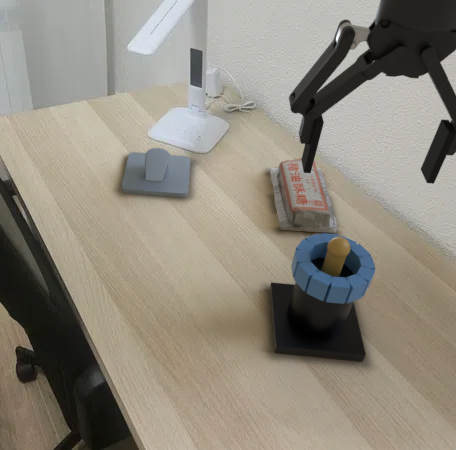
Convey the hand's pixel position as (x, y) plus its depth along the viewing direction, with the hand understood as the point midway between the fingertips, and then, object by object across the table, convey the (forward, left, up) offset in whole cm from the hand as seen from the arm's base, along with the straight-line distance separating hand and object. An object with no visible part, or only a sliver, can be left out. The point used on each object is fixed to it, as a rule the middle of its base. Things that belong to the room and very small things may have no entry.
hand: (366, 171), depth 63 cm
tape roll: (0, 0, -17) cm, 17 cm away
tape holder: (0, 0, -27) cm, 27 cm away
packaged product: (-1, -29, -27) cm, 39 cm away
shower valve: (+26, -32, -27) cm, 49 cm away
